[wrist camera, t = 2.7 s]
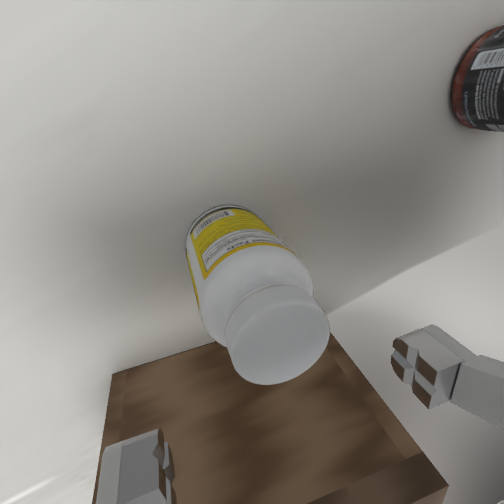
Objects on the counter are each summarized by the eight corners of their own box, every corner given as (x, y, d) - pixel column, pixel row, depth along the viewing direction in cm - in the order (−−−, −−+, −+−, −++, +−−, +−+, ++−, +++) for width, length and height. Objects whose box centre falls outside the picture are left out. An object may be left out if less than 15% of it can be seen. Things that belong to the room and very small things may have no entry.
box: (314, 311, 24) (448, 485, 13) (318, 425, 32) (406, 596, 21) (112, 374, 21) (66, 670, 10) (170, 483, 29) (180, 721, 18)
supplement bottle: (249, 284, 21) (310, 400, 13) (174, 269, 19) (190, 399, 11) (277, 215, 20) (370, 299, 11) (199, 191, 17) (241, 272, 9)
